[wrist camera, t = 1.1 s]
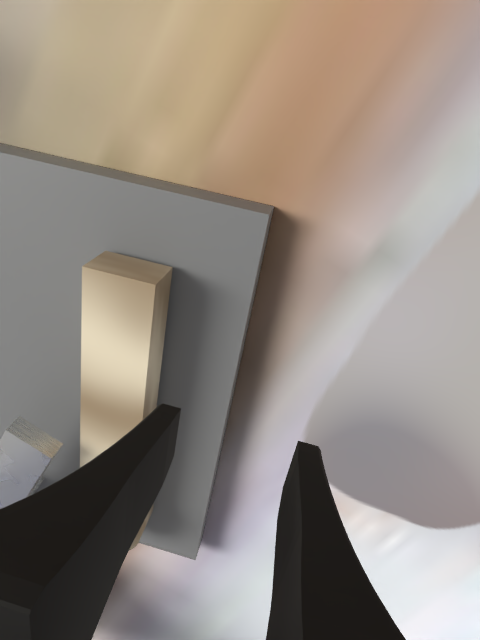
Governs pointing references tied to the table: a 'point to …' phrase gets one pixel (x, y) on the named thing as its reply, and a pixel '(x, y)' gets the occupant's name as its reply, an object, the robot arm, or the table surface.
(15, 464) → the keeper
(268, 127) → the table surface
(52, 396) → the board
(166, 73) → the table surface
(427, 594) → the table surface
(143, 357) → the link
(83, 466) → the robot arm
